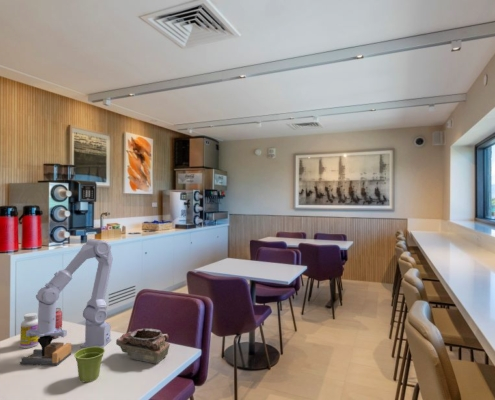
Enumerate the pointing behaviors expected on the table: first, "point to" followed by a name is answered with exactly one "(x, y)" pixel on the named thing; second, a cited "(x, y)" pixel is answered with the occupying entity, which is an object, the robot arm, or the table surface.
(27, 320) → the supplement bottle
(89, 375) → the plant pot
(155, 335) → the decorative box
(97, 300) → the robot arm
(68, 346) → the block
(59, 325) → the soda can
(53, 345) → the sliding block
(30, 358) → the gray metal tray
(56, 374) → the table surface
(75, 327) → the table surface
